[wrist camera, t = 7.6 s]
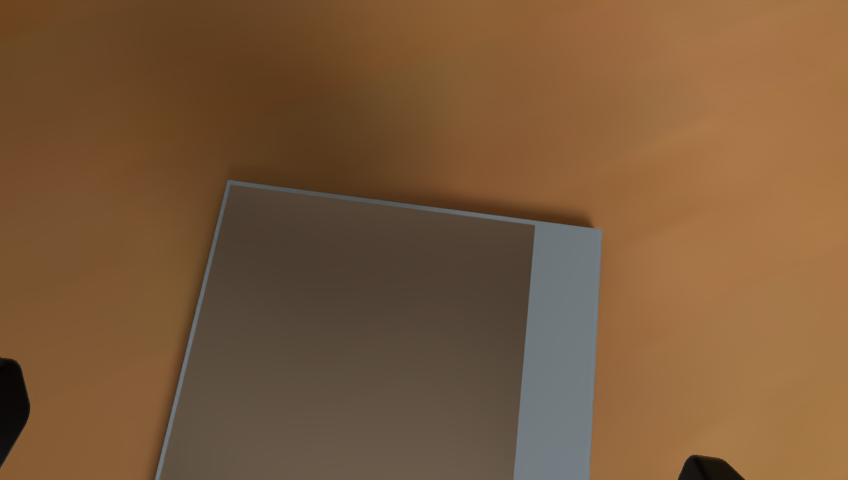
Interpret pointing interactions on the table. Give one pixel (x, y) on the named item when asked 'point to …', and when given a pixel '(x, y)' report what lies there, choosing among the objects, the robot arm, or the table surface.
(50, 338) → the table surface
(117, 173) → the table surface
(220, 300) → the walnut pillar
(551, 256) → the slate coaster
